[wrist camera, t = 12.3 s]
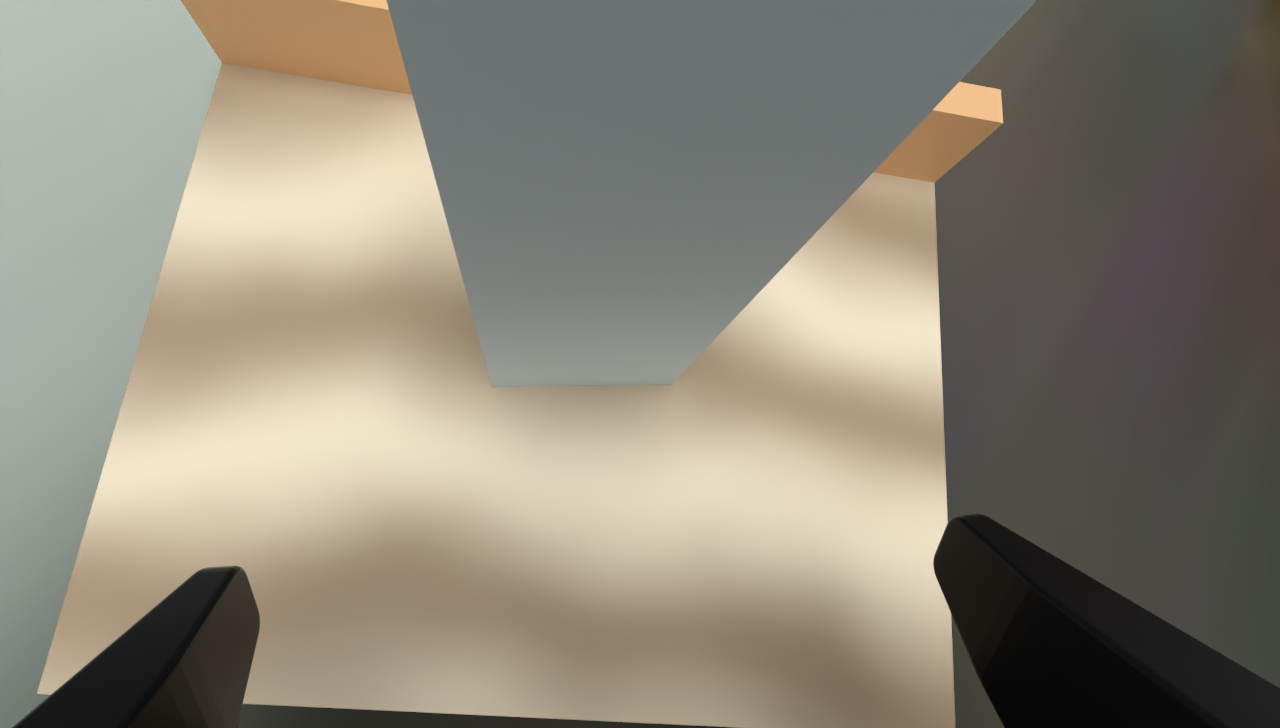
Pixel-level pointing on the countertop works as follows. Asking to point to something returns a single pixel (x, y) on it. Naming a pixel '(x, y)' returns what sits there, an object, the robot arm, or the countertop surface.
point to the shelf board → (519, 459)
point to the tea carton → (658, 156)
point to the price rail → (370, 57)
